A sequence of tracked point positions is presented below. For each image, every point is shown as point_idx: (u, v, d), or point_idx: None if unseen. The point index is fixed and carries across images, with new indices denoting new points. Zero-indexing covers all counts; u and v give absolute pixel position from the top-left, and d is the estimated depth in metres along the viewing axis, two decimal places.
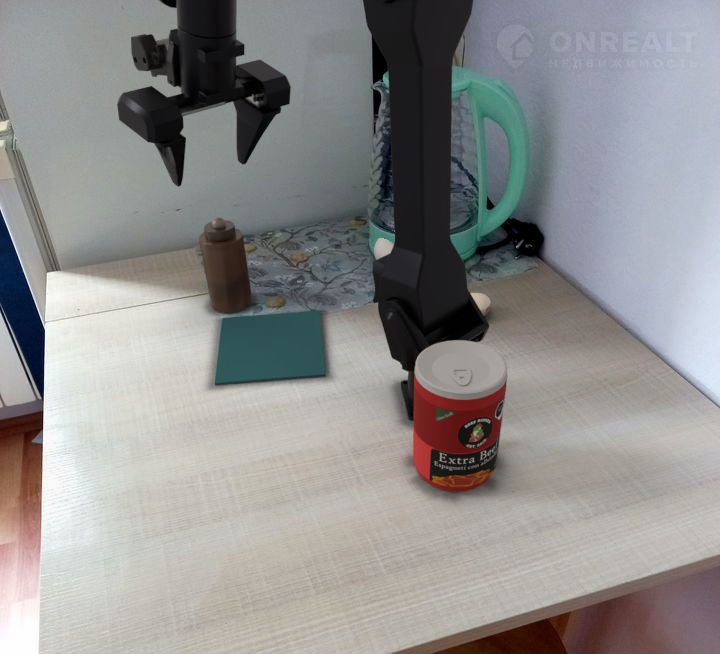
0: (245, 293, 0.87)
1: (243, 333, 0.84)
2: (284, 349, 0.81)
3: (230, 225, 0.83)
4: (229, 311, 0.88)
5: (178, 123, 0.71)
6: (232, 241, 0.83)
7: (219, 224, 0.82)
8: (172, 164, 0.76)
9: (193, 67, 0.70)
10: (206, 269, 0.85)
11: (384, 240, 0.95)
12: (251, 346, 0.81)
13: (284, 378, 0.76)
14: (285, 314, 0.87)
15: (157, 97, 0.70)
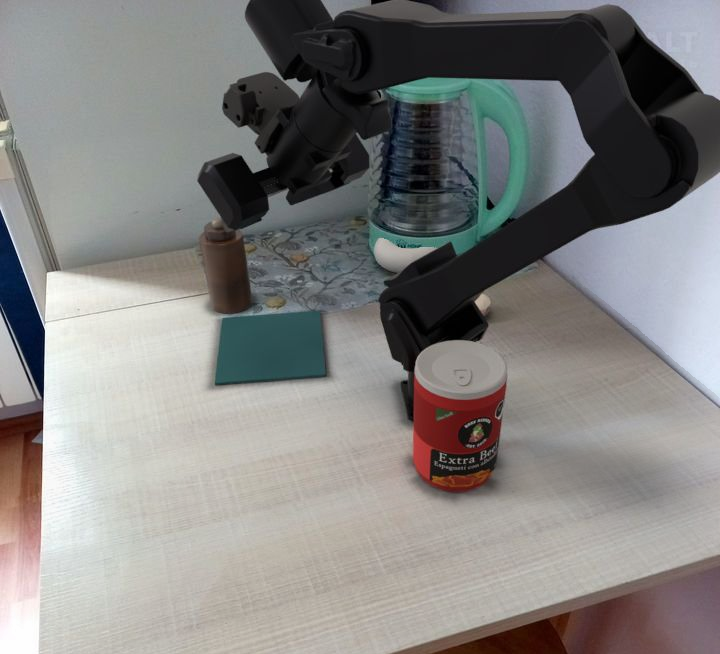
0: (245, 293, 0.87)
1: (243, 333, 0.84)
2: (284, 349, 0.81)
3: None
4: (229, 311, 0.88)
5: (262, 213, 0.67)
6: (232, 241, 0.83)
7: (219, 224, 0.82)
8: None
9: (295, 161, 0.65)
10: (206, 269, 0.85)
11: (384, 240, 0.95)
12: (251, 346, 0.81)
13: (284, 378, 0.76)
14: (285, 314, 0.87)
15: (248, 179, 0.65)
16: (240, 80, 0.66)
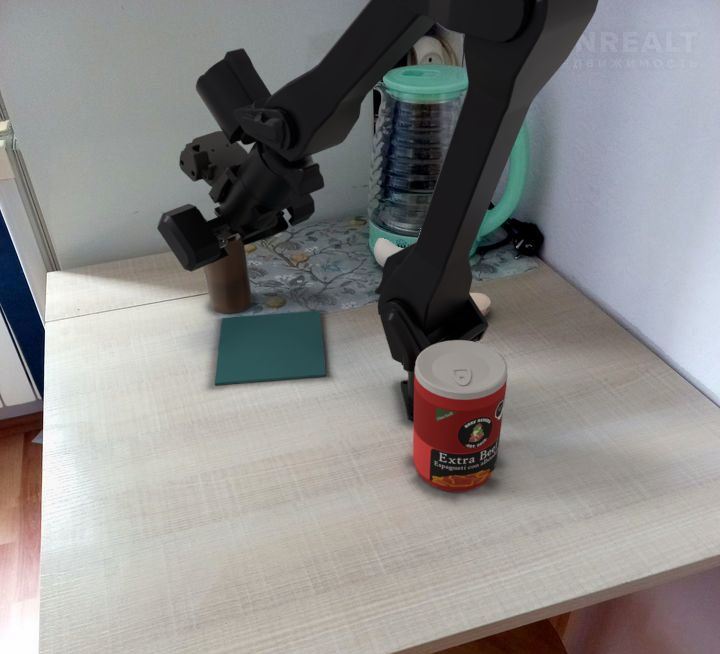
0: (245, 293, 0.87)
1: (243, 333, 0.84)
2: (284, 349, 0.81)
3: None
4: (229, 311, 0.88)
5: (215, 256, 0.76)
6: (232, 241, 0.83)
7: None
8: None
9: (242, 212, 0.74)
10: (206, 269, 0.85)
11: (384, 240, 0.95)
12: (251, 346, 0.81)
13: (284, 378, 0.76)
14: (285, 314, 0.87)
15: (201, 227, 0.74)
16: (195, 139, 0.75)
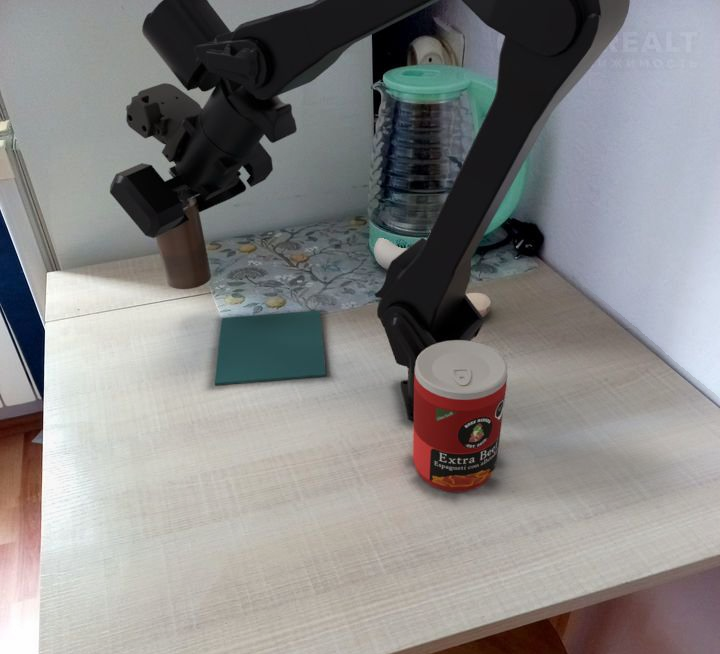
0: (204, 264, 0.80)
1: (243, 333, 0.84)
2: (284, 349, 0.81)
3: None
4: (188, 286, 0.80)
5: (178, 220, 0.69)
6: None
7: None
8: None
9: (205, 167, 0.68)
10: (160, 241, 0.78)
11: (384, 240, 0.95)
12: (251, 346, 0.81)
13: (284, 378, 0.76)
14: (285, 314, 0.87)
15: (161, 187, 0.67)
16: (141, 92, 0.68)
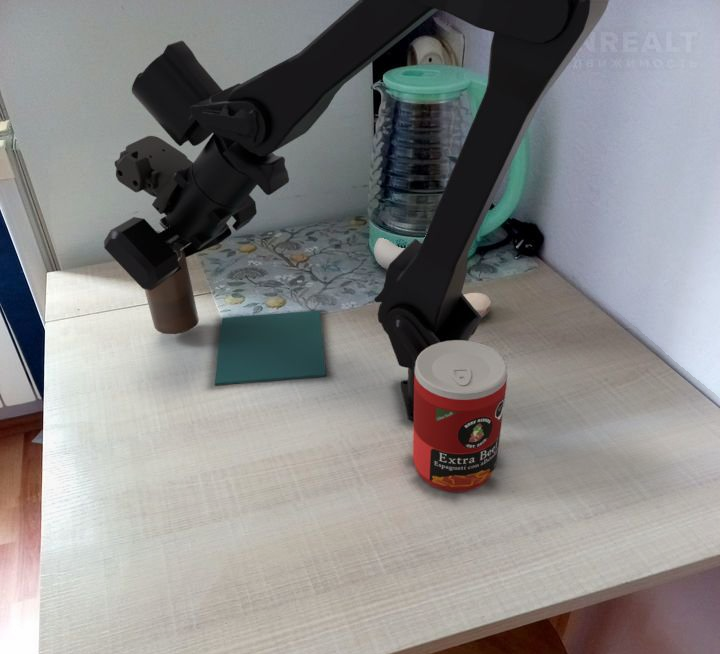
0: (192, 309, 0.81)
1: (243, 333, 0.84)
2: (284, 349, 0.81)
3: None
4: (178, 331, 0.81)
5: (173, 271, 0.70)
6: None
7: None
8: None
9: (198, 219, 0.69)
10: None
11: (384, 240, 0.95)
12: (251, 346, 0.81)
13: (284, 378, 0.76)
14: (285, 314, 0.87)
15: (155, 241, 0.68)
16: (128, 147, 0.68)
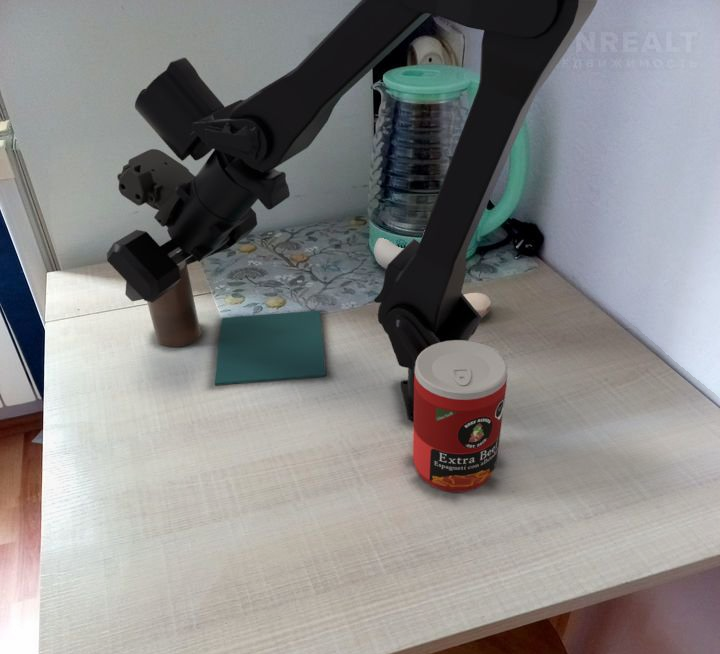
0: (194, 322, 0.82)
1: (243, 333, 0.84)
2: (284, 349, 0.81)
3: None
4: (180, 344, 0.82)
5: (175, 283, 0.71)
6: None
7: None
8: None
9: (199, 232, 0.70)
10: (151, 303, 0.79)
11: (384, 240, 0.95)
12: (251, 346, 0.81)
13: (284, 378, 0.76)
14: (285, 314, 0.87)
15: (157, 253, 0.69)
16: (131, 160, 0.69)
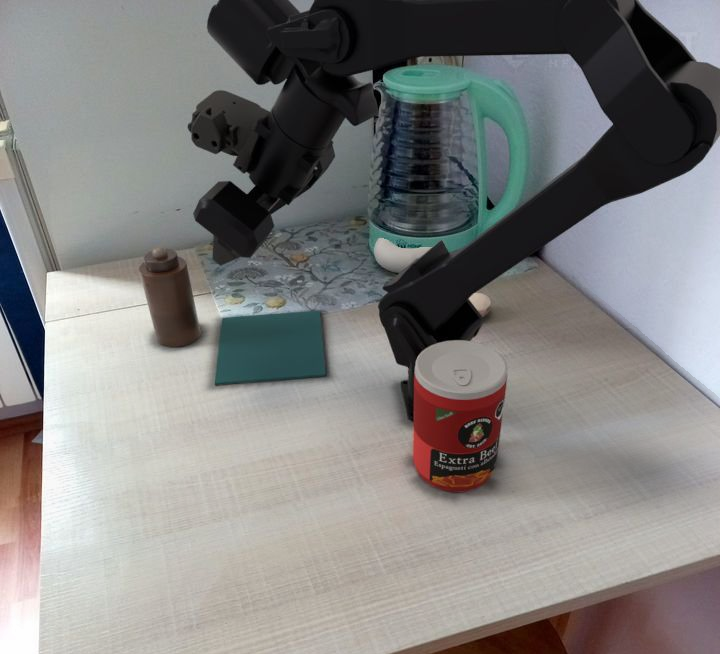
0: (194, 322, 0.82)
1: (243, 333, 0.84)
2: (284, 349, 0.81)
3: (172, 253, 0.78)
4: (180, 344, 0.82)
5: (269, 232, 0.64)
6: (178, 270, 0.77)
7: (162, 253, 0.77)
8: (232, 253, 0.68)
9: (286, 170, 0.63)
10: (151, 303, 0.79)
11: (384, 240, 0.95)
12: (251, 346, 0.81)
13: (284, 378, 0.76)
14: (285, 314, 0.87)
15: (247, 202, 0.62)
16: (199, 106, 0.63)
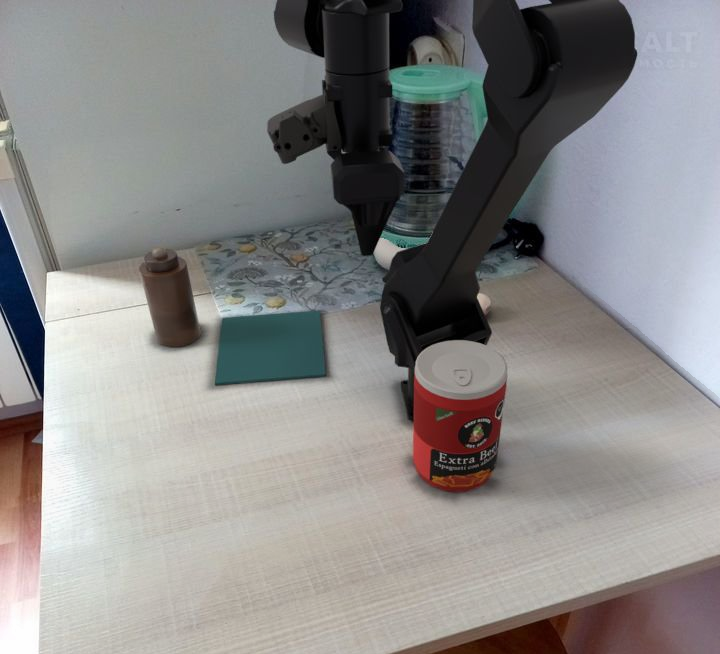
0: (194, 322, 0.82)
1: (243, 333, 0.84)
2: (284, 349, 0.81)
3: (172, 253, 0.78)
4: (180, 344, 0.82)
5: None
6: (178, 270, 0.77)
7: (162, 253, 0.77)
8: (378, 226, 0.67)
9: (373, 110, 0.63)
10: (151, 303, 0.79)
11: (384, 240, 0.95)
12: (251, 346, 0.81)
13: (284, 378, 0.76)
14: (285, 314, 0.87)
15: (367, 155, 0.62)
16: (269, 130, 0.64)
